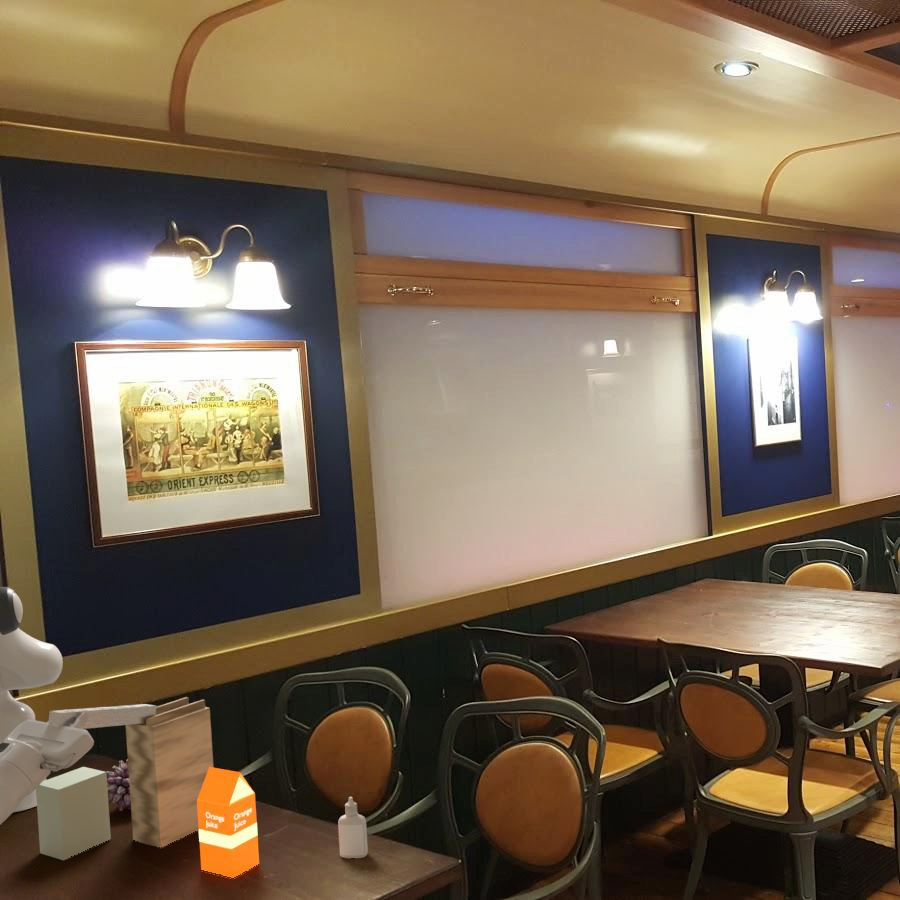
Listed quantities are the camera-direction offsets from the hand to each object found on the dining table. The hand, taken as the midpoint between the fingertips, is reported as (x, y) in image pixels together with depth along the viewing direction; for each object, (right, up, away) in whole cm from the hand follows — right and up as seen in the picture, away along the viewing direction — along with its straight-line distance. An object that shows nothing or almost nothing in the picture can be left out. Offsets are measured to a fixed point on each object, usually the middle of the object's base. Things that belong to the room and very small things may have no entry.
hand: (77, 713), depth 212 cm
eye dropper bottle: (+56, -30, +1) cm, 63 cm away
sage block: (-6, -32, +14) cm, 36 cm away
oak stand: (+15, -31, +20) cm, 40 cm away
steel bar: (+4, -4, +5) cm, 7 cm away
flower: (0, -32, +35) cm, 47 cm away
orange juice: (+31, -31, -1) cm, 44 cm away
